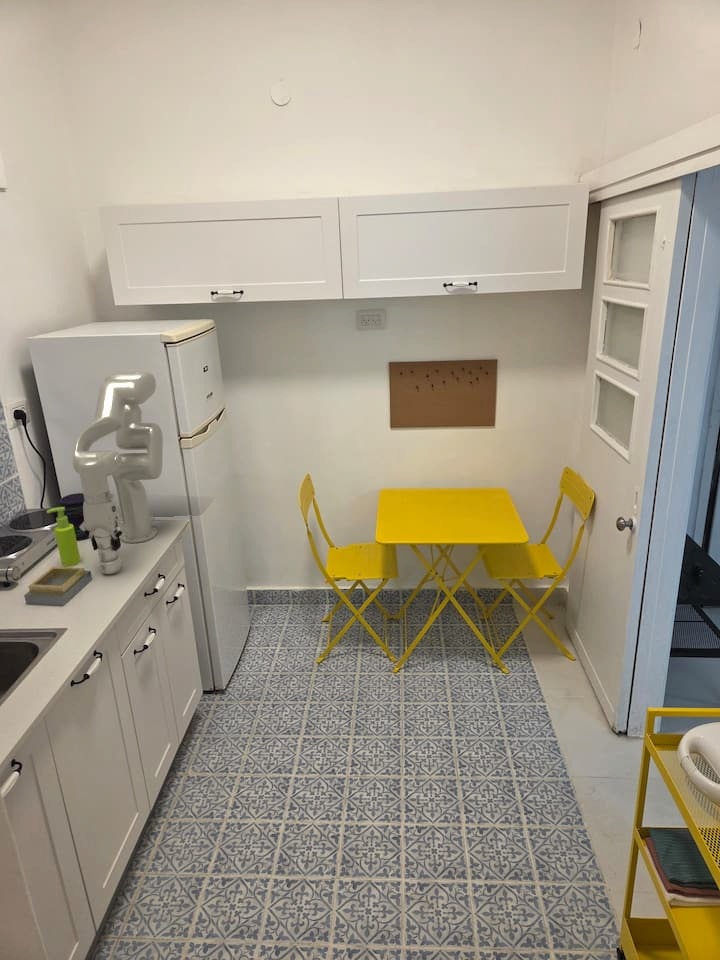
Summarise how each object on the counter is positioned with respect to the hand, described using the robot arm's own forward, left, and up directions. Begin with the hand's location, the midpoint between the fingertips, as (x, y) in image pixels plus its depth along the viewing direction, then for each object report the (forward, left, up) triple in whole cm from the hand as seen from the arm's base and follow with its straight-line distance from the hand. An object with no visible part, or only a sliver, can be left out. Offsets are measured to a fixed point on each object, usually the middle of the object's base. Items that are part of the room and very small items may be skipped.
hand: (107, 548), depth 201 cm
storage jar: (-26, -26, -9) cm, 38 cm away
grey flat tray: (+13, -10, -9) cm, 19 cm away
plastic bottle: (0, 0, -9) cm, 9 cm away
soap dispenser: (-5, -18, -9) cm, 21 cm away
